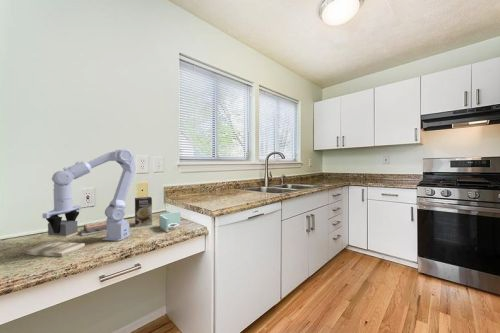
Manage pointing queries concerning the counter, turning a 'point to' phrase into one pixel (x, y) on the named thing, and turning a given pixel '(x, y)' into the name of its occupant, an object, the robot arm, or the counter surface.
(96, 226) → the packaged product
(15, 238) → the counter surface
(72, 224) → the block
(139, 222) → the coffee box
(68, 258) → the counter surface
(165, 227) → the pale turquoise carton
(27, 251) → the pine board
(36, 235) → the counter surface
